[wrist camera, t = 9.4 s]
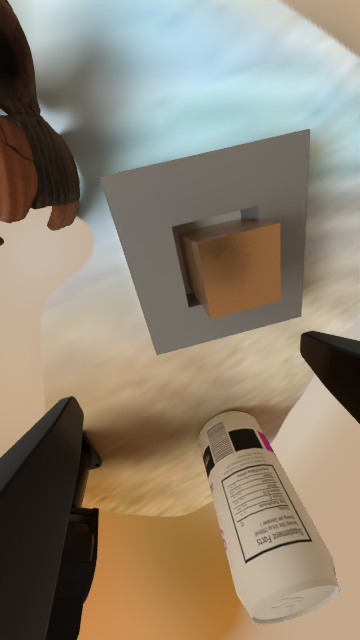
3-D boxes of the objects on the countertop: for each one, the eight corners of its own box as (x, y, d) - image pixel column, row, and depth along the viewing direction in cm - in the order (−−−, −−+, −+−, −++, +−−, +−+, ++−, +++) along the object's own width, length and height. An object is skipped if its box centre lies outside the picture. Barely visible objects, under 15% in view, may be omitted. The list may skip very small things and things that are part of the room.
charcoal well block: (278, 302, 22) (301, 316, 19) (154, 335, 22) (156, 355, 19) (278, 145, 16) (310, 128, 13) (107, 184, 16) (99, 176, 13)
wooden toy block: (237, 273, 20) (280, 300, 13) (188, 286, 20) (210, 319, 13) (231, 220, 18) (280, 222, 11) (177, 233, 17) (197, 243, 11)
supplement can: (267, 415, 30) (369, 580, 16) (233, 454, 32) (297, 623, 19) (219, 400, 27) (293, 582, 14) (186, 443, 30) (222, 632, 16)
